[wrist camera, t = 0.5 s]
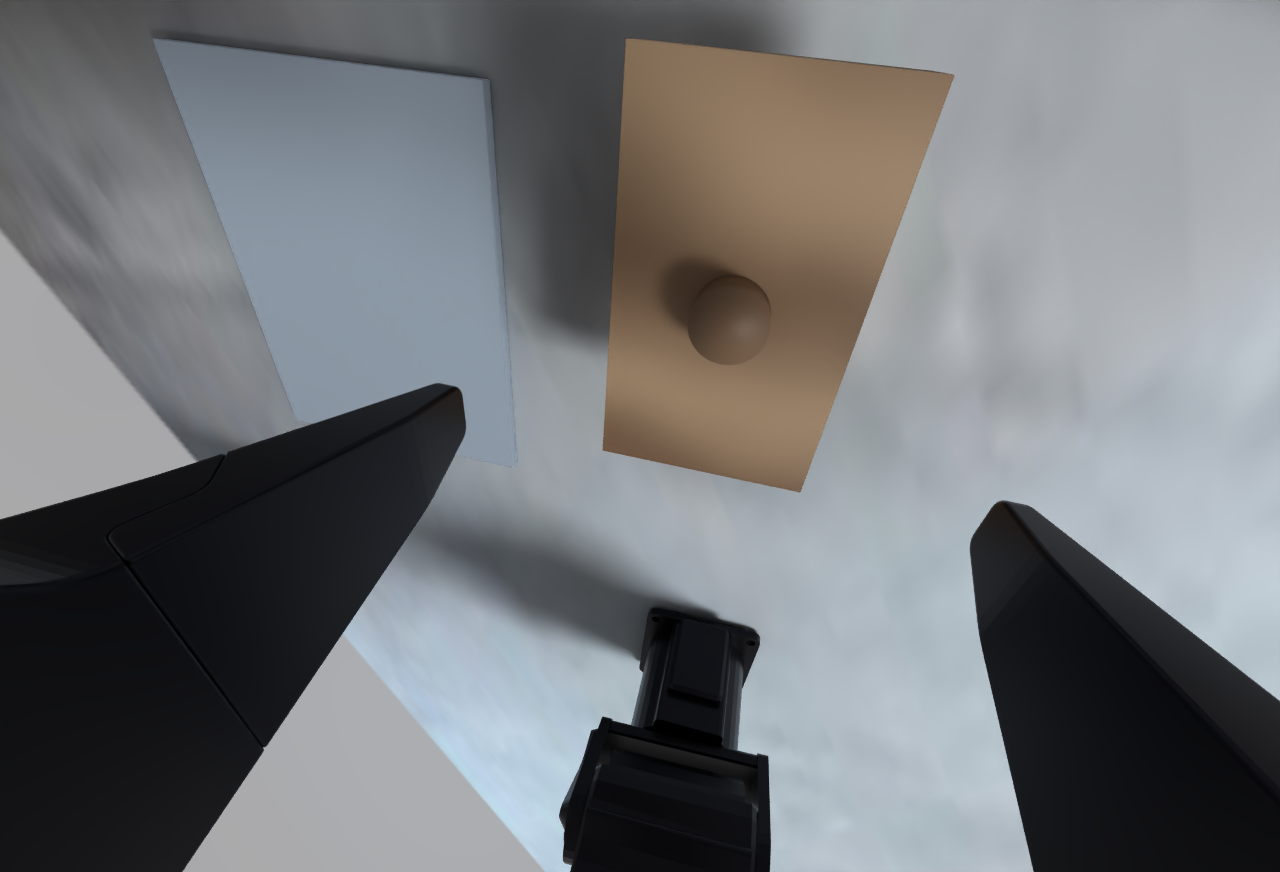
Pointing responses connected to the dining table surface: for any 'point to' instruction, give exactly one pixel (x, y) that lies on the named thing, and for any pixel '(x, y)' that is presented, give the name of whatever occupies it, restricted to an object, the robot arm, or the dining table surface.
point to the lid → (750, 246)
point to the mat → (359, 226)
